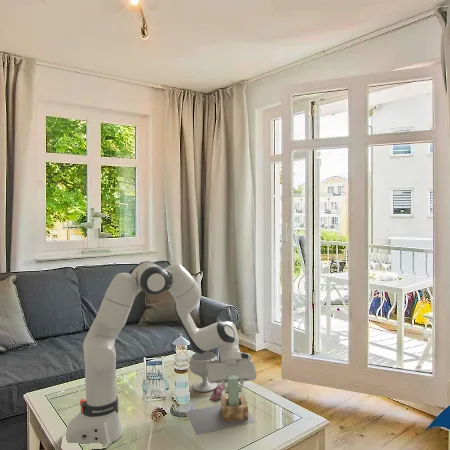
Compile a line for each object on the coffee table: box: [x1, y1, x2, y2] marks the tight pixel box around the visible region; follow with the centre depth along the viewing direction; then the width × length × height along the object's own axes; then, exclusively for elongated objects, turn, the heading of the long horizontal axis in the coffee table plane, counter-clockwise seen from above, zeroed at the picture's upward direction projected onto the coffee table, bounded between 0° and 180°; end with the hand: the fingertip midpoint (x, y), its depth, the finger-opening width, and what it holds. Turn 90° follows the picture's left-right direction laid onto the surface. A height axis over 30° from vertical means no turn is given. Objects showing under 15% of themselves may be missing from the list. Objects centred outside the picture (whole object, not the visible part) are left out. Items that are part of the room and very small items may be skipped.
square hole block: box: [220, 394, 249, 421], centre depth 166 cm, size 10×10×5 cm
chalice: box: [188, 351, 219, 393], centre depth 194 cm, size 14×14×15 cm
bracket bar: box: [227, 374, 240, 406], centre depth 166 cm, size 4×4×14 cm
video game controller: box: [209, 383, 225, 401], centre depth 183 cm, size 10×5×7 cm, turn 169°
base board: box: [186, 404, 257, 436], centre depth 164 cm, size 24×18×2 cm
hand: (233, 392), depth 165 cm, fingers closed on bracket bar, 4 cm apart
